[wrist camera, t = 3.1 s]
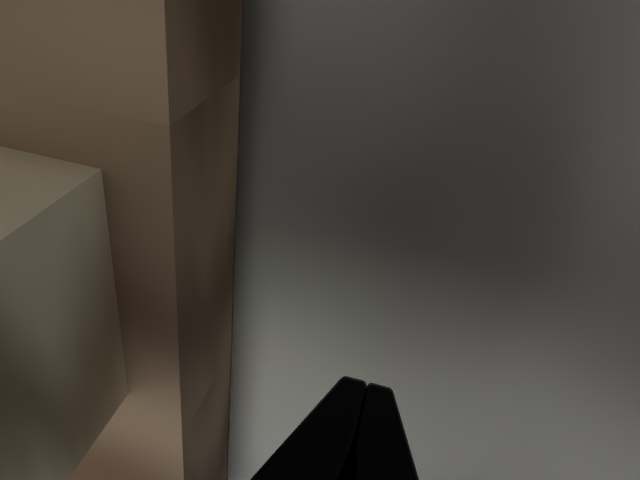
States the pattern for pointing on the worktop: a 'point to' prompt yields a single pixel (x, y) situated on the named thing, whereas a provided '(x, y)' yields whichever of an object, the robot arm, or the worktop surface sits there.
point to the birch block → (55, 316)
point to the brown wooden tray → (145, 200)
